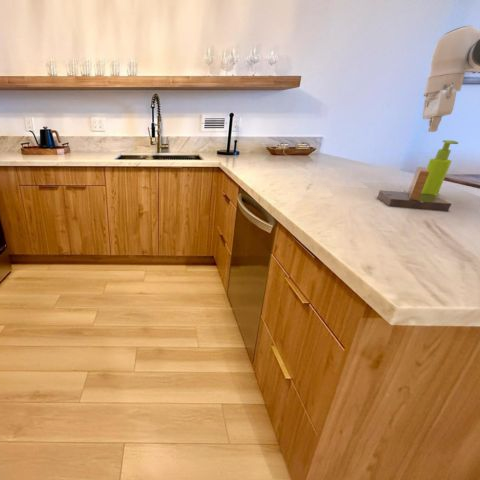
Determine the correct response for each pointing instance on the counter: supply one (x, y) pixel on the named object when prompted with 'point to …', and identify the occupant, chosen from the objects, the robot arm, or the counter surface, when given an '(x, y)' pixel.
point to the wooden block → (418, 183)
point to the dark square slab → (413, 201)
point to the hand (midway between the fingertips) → (432, 131)
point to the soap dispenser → (438, 169)
